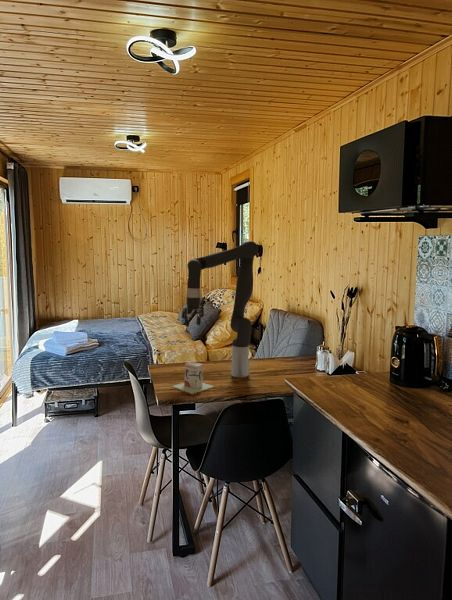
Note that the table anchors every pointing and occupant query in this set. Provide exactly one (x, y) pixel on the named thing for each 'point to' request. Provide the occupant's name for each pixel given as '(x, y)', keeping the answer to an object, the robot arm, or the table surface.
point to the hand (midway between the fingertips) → (192, 325)
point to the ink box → (193, 375)
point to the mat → (192, 390)
